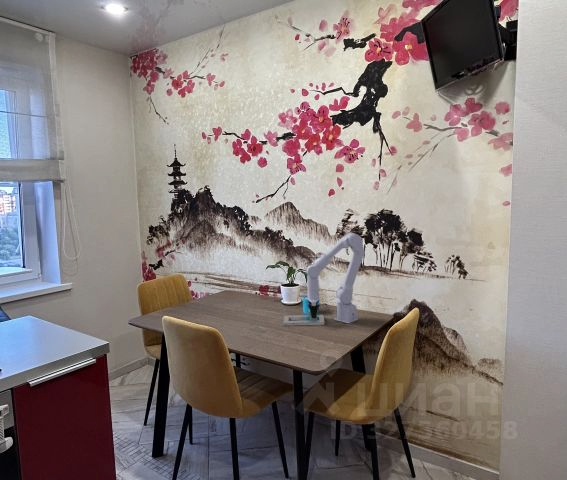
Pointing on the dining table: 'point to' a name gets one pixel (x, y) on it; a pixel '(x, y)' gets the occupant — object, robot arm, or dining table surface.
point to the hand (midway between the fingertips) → (313, 315)
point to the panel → (303, 320)
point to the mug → (306, 305)
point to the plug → (311, 317)
